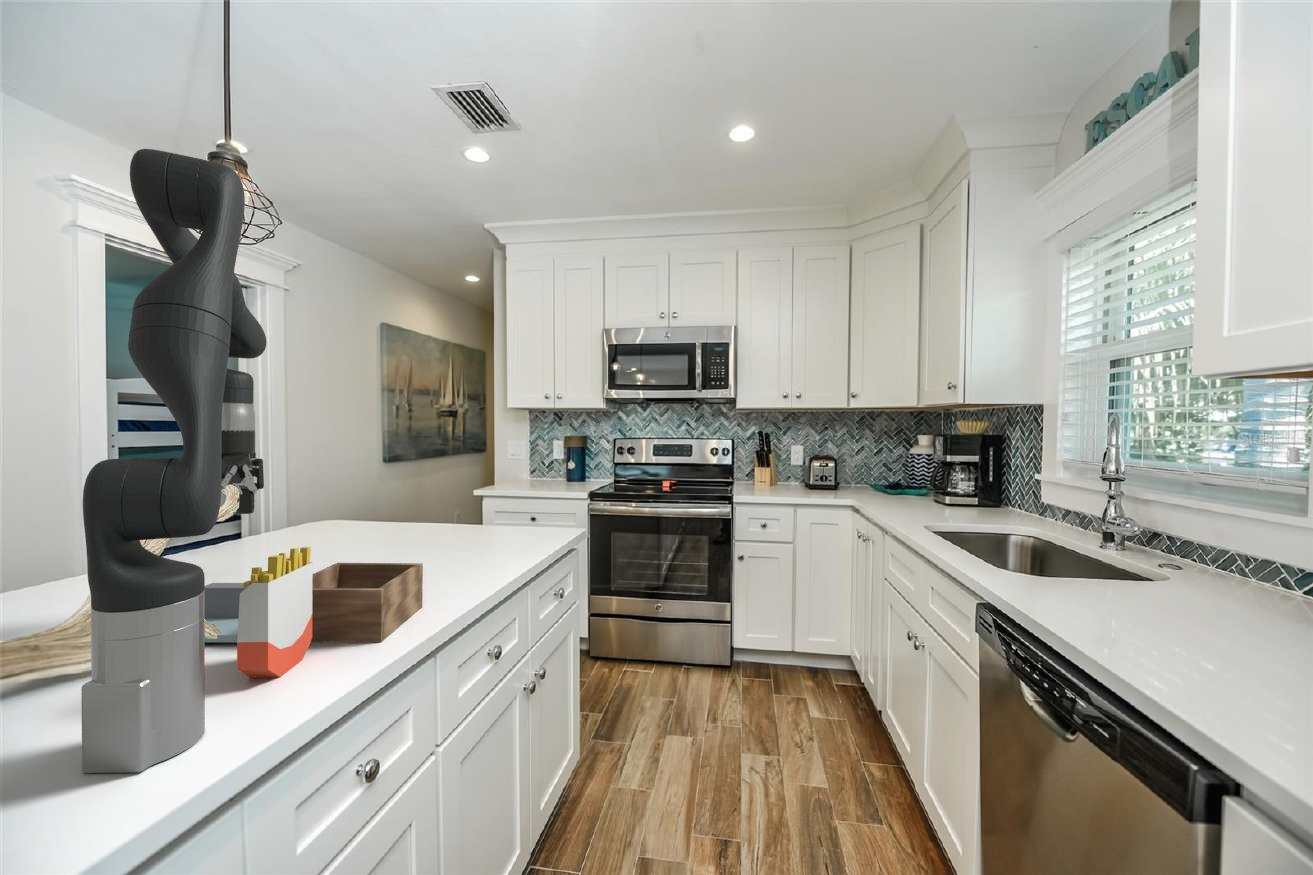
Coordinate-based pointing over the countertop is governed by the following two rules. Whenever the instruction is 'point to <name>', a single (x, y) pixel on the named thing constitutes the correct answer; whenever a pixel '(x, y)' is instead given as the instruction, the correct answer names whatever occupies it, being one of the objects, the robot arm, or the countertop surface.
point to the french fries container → (275, 616)
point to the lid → (223, 609)
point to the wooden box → (364, 600)
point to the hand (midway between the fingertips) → (228, 517)
